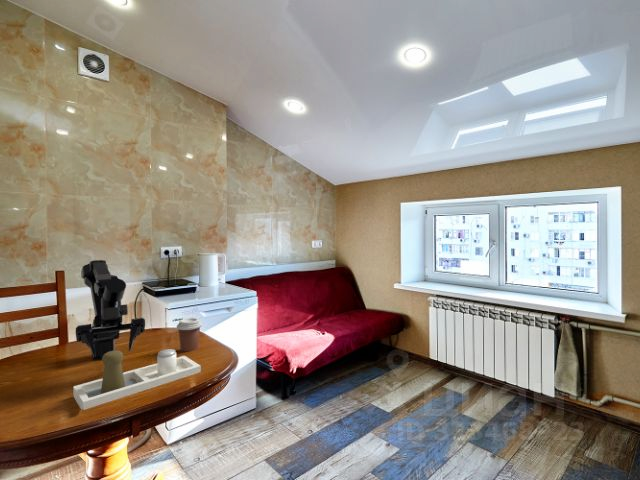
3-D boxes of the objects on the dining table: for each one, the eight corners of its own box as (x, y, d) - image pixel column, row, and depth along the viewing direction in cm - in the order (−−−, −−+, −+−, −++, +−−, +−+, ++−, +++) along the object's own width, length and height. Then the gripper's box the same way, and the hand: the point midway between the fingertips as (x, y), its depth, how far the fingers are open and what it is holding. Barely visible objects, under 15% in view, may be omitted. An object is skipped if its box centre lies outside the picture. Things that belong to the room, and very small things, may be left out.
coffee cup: (171, 353, 129) (171, 321, 128) (189, 345, 137) (188, 316, 137) (190, 356, 125) (189, 324, 125) (207, 348, 134) (206, 318, 133)
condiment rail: (184, 364, 119) (184, 355, 119) (200, 374, 110) (200, 365, 110) (73, 396, 96) (73, 386, 96) (83, 413, 87) (83, 402, 87)
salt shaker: (176, 369, 112) (176, 347, 112) (176, 376, 107) (176, 353, 107) (157, 372, 110) (157, 350, 110) (157, 379, 105) (156, 356, 104)
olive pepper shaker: (105, 397, 93) (104, 357, 93) (97, 389, 97) (97, 352, 97) (128, 389, 98) (128, 351, 98) (120, 382, 102) (120, 346, 101)
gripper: (75, 299, 103) (73, 347, 94) (144, 293, 112) (148, 335, 104) (77, 318, 110) (75, 364, 101) (142, 311, 120) (145, 352, 111)
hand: (112, 353), depth 104 cm, fingers open, 9 cm apart
